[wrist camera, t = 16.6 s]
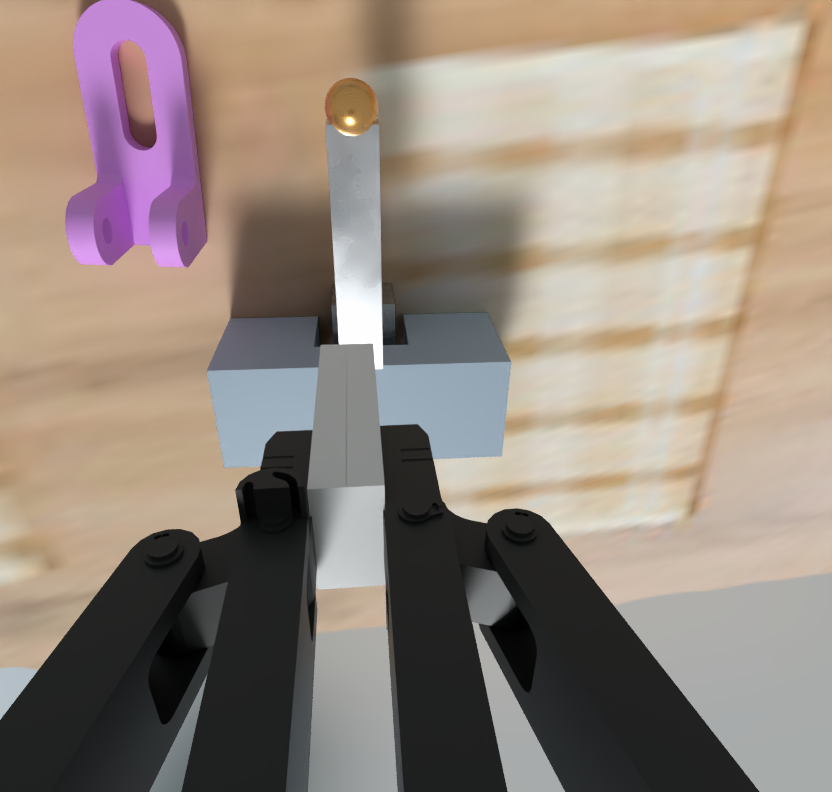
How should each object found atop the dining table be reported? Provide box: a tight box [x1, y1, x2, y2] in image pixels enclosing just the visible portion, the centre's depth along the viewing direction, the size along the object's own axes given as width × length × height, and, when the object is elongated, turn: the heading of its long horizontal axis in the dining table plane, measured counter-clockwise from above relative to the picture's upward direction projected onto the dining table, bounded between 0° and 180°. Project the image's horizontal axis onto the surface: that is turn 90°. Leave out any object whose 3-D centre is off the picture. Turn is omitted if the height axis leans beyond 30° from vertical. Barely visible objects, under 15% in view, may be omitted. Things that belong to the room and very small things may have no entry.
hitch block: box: [207, 312, 511, 468], centre depth 41 cm, size 18×7×8 cm, turn 90°
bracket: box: [65, 0, 207, 267], centre depth 33 cm, size 13×6×7 cm, turn 177°
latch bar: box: [325, 78, 383, 369], centre depth 31 cm, size 2×15×2 cm, turn 179°
